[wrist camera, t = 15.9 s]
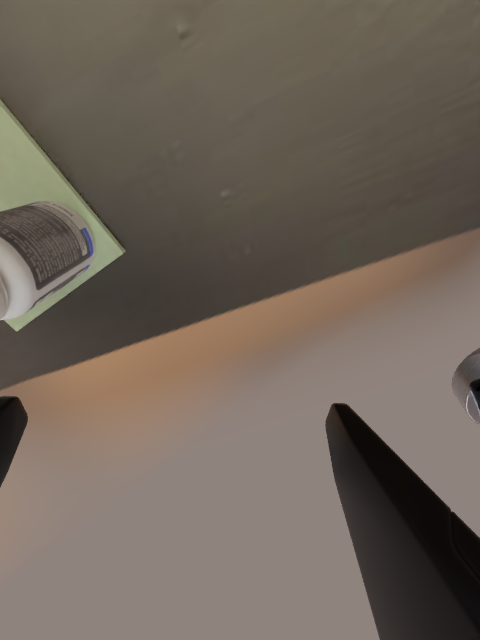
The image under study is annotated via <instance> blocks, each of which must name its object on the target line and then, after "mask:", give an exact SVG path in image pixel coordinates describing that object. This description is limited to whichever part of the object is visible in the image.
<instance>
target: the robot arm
mask: <svg viewBox="0 0 480 640" xmlns="http://www.w3.org/2000/svg"><path fill="white" fill-rule="evenodd" d="M469 388H470V390H471V393H472V395H473V398H474V400H475V403H476V405H477V408H478V410H479V413H480V379H477V380H474V381H472V382H471V383H470V384H469ZM27 421H28V416H27V413H26V411H25V409H24V407H23V405H22V403H21V401H20V399H19V398H18V397H14V396H13V397H12V396H2V397H0V487H1V485H2V483H3V481H4V478H5V476H6V474H7V472H8V470H9V467H10V464H11V462H12V459H13V457H14V455H15V452H16V450H17V447H18V445H19V442H20V440H21V437H22V435H23V432H24V429H25V427H26V425H27ZM326 433H327V438H328V443H329V449H330V456H331V461H332V467H333V473H334V478H335V482H336V486H337V490H338V493H339V497H340V500H341V504H342V507H343V511H344V514H345V518H346V521H347V525H348V528H349V532H350V536H351V539H352V542H353V546H354V550H355V553H356V557H357V560H358V564H359V567H360V570H361V574H362V578H363V582H364V585H365V588H366V592H367V595H368V599H369V603H370V606H371V610H372V613H373V617H374V620H375V624H376V627H377V631H378V635H379V638H380V640H480V538H479V537H478V536H477V535H476V534H475V533H474V532H473V531H472V530H471V529H470V528H469V527H468V526H467V525H466V524H465V523H464V522H463V521H462V520H461V519H460V518H459V517H458V516H457V515H456V514H455V513H454V512H451V509H450V508H449V507H448V506H447V505H446V504H445V503H444V502H443V501H442V500H441V499H440V498H439V497H438V496H437V495H436V494H435V493H434V492H433V491H432V490H431V489H430V488H429V487H428V486H427V485H426V484H425V483H424V482H423V481H422V480H421V479H420V478H419V477H418V475H417V474H416V473H415V472H414V471H413V470H412V469H410V467H409V466H408V465H407V464H406V463H405V462H404V461H403V460H402V459H401V458H400V457H399V456H398V455H397V454H396V453H395V452H394V451H393V450H392V449H391V448H390V447H389V446H388V445H387V444H386V443H385V442H384V441H383V440H382V439H381V438H380V437H379V436H378V435H377V434H376V433H375V432H374V431H373V430H372V429H371V428H370V427H369V426H368V425H367V424H366V423H365V422H364V421H363V420H362V419H361V418H360V417H359V416H358V415H357V414H356V413H355V412H354V411H353V410H352V409H351V408H350V407H349V406H348V405H347V404H344V403H334V404H332V406H331V408H330V411H329V414H328V416H327V419H326Z"/></svg>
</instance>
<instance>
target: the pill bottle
mask: <svg viewBox="0 0 480 640" xmlns="http://www.w3.org/2000/svg"><path fill="white" fill-rule="evenodd" d="M95 248H96V247H95V240H94V237H93V234H92V232H91V230H90V228H89V227H88V225H87V224H86V223H85V221H84V220H83V219H82V217H80V216H79V215H78V214H77V213H76V212H75V211H73V210H72V209H70V208H69V207H67V206H65V205H63V204H60V203H57V202H53V201H40V202H34V203H30V204H27V205H23V206H20V207H15V208H12V209H9V210H5V211H1V212H0V320H7V319H13V318H16V317H19V316H21V315H23V314H25V313H26V312H28V311H29V310H31V309H32V308H33V307H35V306H36V305H38V304H39V303H40V302H42V301H43V300H45V299H46V298H48V297H49V296H50V295H52V294H53V293H55V292H56V291H58V290H59V289H61V288H63V287H64V286H65V285H67V284H68V283H69V282H70V281H72V280H74V279H75V278H77V277H78V276H79V275H81V274H82V273H84V272H85V271H86V270H87V269H88V268H89V267H90V266H91V264H92V263H93V260H94V258H95Z"/></svg>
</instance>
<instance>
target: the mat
mask: <svg viewBox="0 0 480 640" xmlns="http://www.w3.org/2000/svg"><path fill="white" fill-rule="evenodd" d="M40 201H53V202H57V203H60V204H63V205H65V206H67V207H69V208H70V209H72V210H73V211H75V212H76V213H77V214H78V215H79V216H80V217H82V219H83V220H84V221H85V223H86V224H87V225H88V227H89V228H90V230H91V232H92V234H93V237H94V240H95V247H96V248H95V258H94V260H93V263H92V264H91V266H90V267H89V268H88V269H87V270H86V271H85V272H84V273H82V274H81V275H79V276H78V277H77V278H75V279H74V280H72V281H70V282H69V283H68V284H67V285H65V286H64V287H63V288H61V289H59V290H58V291H56V292H55V293H53V294H52V295H50V296H49V297H48V298H46V299H45V300H43V301H42V302H40V303H39V304H38V305H36V306H35V307H33V308H32V309H31V310H29V311H28V312H26V313H25V314H23V315H21V316H19V317H16V318H13V319H7V320H4V321H5V322H7V323H8V324H9V325H10V326H11V327H12V328H13V329H14V330H16V331H18V330H20V329H21V328H22V327H24V326H25V325H26V324H28V323H29V322H31V321H32V320H33V319H35V318H36V317H37V316H39V315H40V314H41V313H43V312H44V311H46V310H47V309H48V308H50V307H51V306H52V305H54V304H55V303H57V302H58V301H59V300H61V299H62V298H63V297H65V296H66V295H67V294H69V293H70V292H72V291H73V290H74V289H76V288H77V287H78V286H80V285H81V284H82V283H84V282H85V281H87V280H88V279H89V278H91V277H92V276H93V275H95V274H96V273H97V272H99V271H100V270H102V269H103V268H104V267H106V266H107V265H108V264H110V263H111V262H112V261H114V260H115V259H117V258H118V257H119V256H121V255H122V254H123V253H125V252H126V251H125V249H124V248H123V247H122V246H121V245H120V243H119V242H118V241H117V240H116V239H115V237H114V236H113V235H112V234H111V233H110V231H109V230H108V229H107V228H106V226H105V225H104V224H103V223H102V222H101V220H100V219H99V218H98V217H97V216H96V214H95V213H94V212H93V211H92V210H91V208H90V207H89V206H88V205H87V203H86V202H85V201H84V200H83V199H82V197H81V196H80V195H79V194H78V193H77V191H76V190H75V189H74V188H73V187H72V185H71V184H70V183H69V182H68V181H67V179H66V178H65V177H64V176H63V174H62V173H61V172H60V171H59V170H58V168H57V167H56V166H55V165H54V164H53V162H52V161H51V160H50V159H49V158H48V156H47V155H46V154H45V153H44V151H43V150H42V149H41V148H40V147H39V145H38V144H37V143H36V142H35V141H34V139H33V138H32V137H31V136H30V135H29V133H28V132H27V131H26V130H25V129H24V127H23V126H22V125H21V124H20V122H19V121H18V120H17V119H16V118H15V116H14V115H13V114H12V113H11V112H10V110H9V109H8V108H7V107H6V106H5V104H4V103H3V102H2V101H1V99H0V212H1V211H5V210H9V209H12V208H15V207H20V206H23V205H27V204H30V203H34V202H40Z"/></svg>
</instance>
